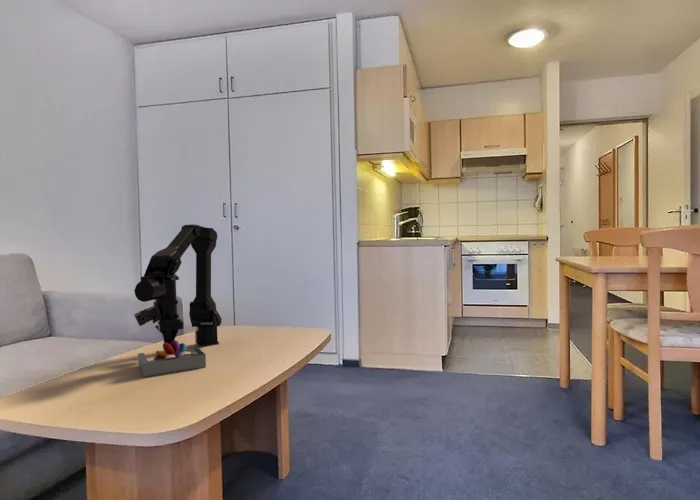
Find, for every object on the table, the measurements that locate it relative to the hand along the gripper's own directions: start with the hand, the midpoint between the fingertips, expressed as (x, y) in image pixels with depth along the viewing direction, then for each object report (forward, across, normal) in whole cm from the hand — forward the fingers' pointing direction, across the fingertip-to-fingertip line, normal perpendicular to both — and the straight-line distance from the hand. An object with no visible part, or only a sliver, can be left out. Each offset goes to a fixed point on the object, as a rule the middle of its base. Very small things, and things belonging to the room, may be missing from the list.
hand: (168, 350), depth 133 cm
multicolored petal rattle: (+4, +4, 0) cm, 6 cm away
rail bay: (+4, +5, 0) cm, 6 cm away
